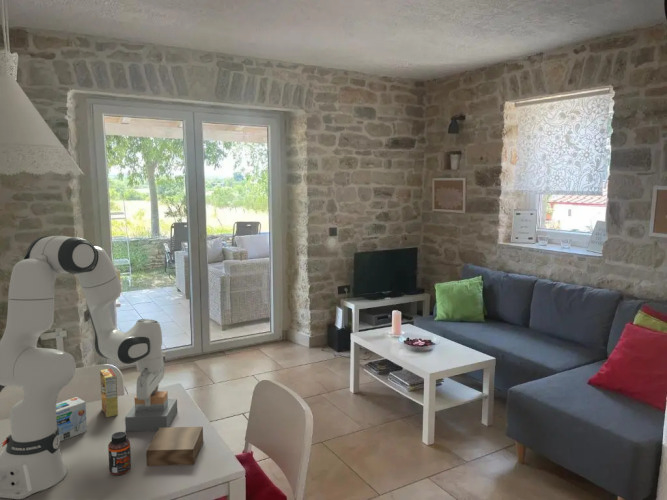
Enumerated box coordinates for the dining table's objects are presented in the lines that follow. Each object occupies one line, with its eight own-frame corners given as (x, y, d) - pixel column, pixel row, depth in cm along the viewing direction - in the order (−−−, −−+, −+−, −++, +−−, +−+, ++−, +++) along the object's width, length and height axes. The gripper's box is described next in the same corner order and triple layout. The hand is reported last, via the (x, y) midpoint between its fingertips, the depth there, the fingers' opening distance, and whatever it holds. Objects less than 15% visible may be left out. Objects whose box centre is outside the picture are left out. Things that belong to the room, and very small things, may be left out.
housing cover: (167, 397, 177) (167, 388, 176) (163, 403, 172) (163, 394, 171) (139, 398, 176) (139, 389, 176) (134, 404, 171) (134, 395, 171)
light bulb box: (55, 443, 159) (53, 412, 158) (46, 437, 163) (44, 406, 162) (88, 430, 168) (86, 401, 166) (78, 425, 172) (76, 396, 170)
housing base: (167, 404, 177) (167, 397, 177) (163, 410, 172) (163, 403, 172) (139, 404, 177) (139, 398, 176) (135, 411, 172) (134, 404, 171)
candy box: (101, 409, 184) (99, 370, 182) (113, 406, 187) (111, 367, 185) (106, 417, 177) (104, 377, 175) (119, 414, 180) (117, 375, 178)
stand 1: (125, 431, 168) (125, 417, 167) (139, 412, 182) (138, 399, 181) (167, 429, 169) (166, 416, 168) (177, 411, 182) (176, 398, 182)
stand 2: (146, 466, 147) (145, 450, 146) (160, 441, 161) (159, 427, 160) (193, 464, 148) (193, 449, 147) (203, 440, 162) (202, 426, 161)
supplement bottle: (117, 478, 140) (115, 442, 139) (105, 472, 143) (102, 436, 142) (135, 468, 145) (133, 433, 144) (123, 462, 148) (121, 427, 147)
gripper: (149, 374, 162) (151, 414, 164) (166, 353, 182) (168, 389, 184) (130, 375, 162) (132, 414, 164) (149, 354, 182) (151, 389, 184)
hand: (151, 400), depth 174 cm, fingers open, 6 cm apart
